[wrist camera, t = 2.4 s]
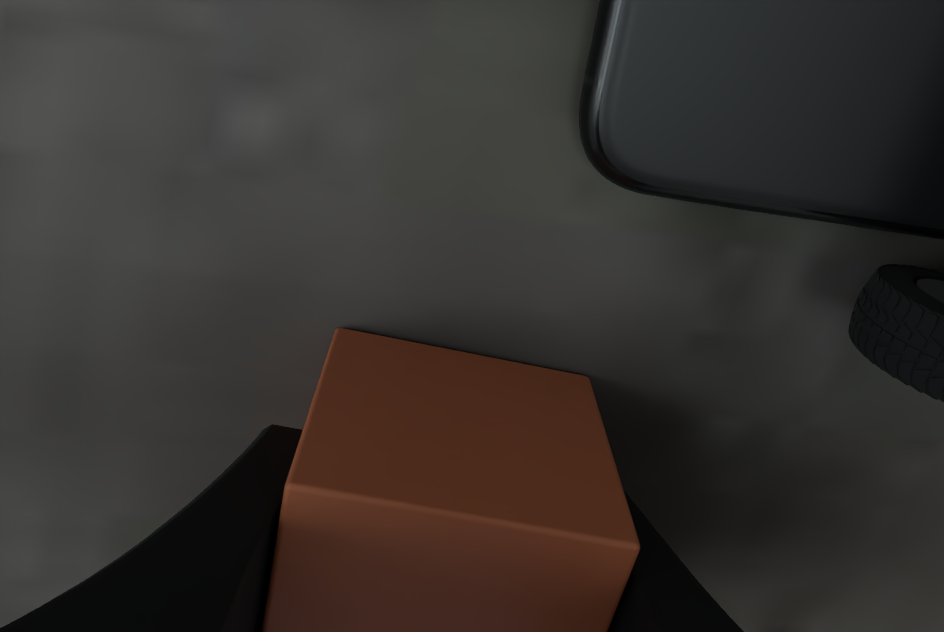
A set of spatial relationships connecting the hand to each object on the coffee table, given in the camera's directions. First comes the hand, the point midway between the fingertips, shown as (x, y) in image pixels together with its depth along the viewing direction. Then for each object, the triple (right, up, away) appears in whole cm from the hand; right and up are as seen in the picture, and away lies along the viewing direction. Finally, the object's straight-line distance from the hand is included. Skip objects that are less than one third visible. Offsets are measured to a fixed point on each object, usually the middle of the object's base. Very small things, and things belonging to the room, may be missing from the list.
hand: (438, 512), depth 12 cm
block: (0, +1, +1) cm, 1 cm away
